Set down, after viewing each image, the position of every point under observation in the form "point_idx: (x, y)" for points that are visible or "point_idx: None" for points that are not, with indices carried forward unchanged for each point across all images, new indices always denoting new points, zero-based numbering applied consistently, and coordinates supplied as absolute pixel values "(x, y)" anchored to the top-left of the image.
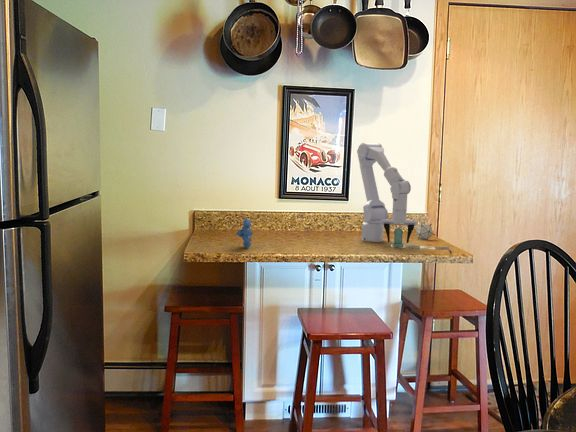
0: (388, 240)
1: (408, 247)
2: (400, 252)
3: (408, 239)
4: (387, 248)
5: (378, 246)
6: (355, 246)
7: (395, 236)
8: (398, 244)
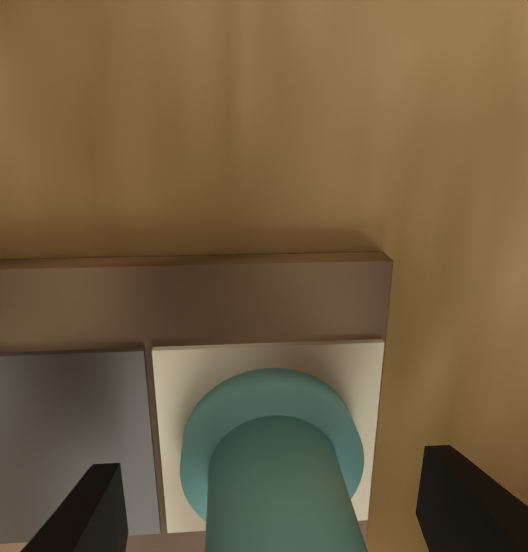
0: (459, 459)
1: (97, 375)
2: (225, 100)
3: (65, 507)
4: (413, 370)
5: (518, 463)
6: None
7: (357, 542)
8: (266, 401)
